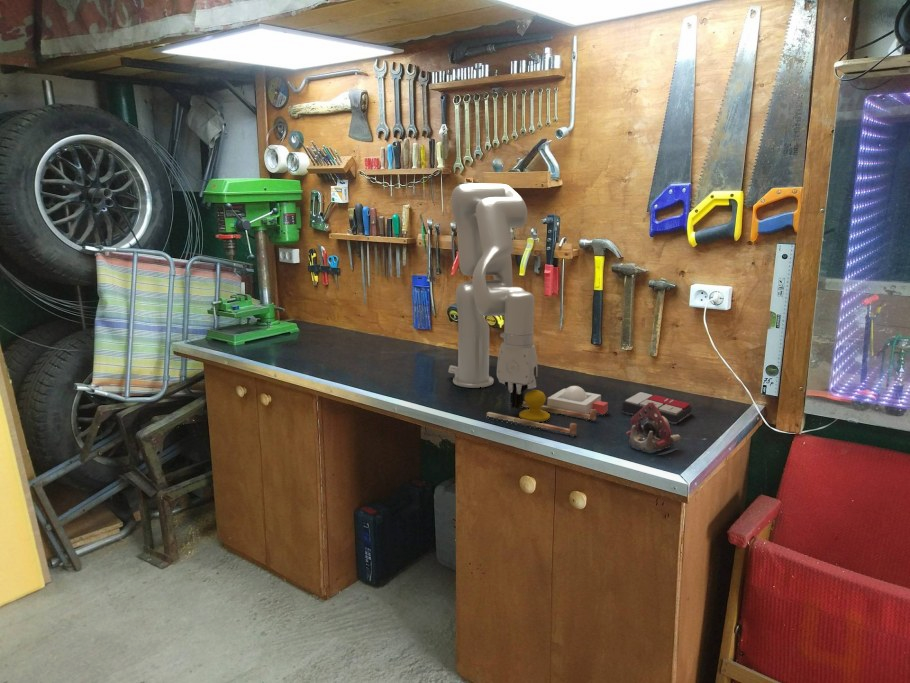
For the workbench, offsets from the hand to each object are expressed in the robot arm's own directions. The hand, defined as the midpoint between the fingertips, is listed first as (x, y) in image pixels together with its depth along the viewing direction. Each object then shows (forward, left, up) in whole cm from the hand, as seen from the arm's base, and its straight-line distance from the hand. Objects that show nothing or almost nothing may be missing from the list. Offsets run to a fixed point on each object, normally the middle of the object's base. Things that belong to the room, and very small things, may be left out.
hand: (516, 406), depth 178 cm
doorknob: (+5, 0, -2) cm, 6 cm away
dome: (+11, +13, -2) cm, 17 cm away
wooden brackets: (+7, 0, -2) cm, 7 cm away
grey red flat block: (+31, +21, -3) cm, 38 cm away
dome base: (+13, +13, -2) cm, 18 cm away
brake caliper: (+37, -3, -3) cm, 37 cm away
